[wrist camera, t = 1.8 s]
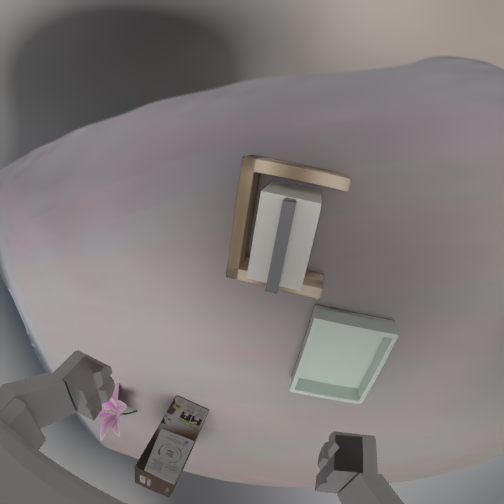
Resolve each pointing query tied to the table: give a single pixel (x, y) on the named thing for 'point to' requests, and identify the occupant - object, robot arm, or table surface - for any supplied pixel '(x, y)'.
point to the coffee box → (170, 447)
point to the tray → (342, 354)
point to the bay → (245, 210)
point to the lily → (112, 414)
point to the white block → (284, 235)
